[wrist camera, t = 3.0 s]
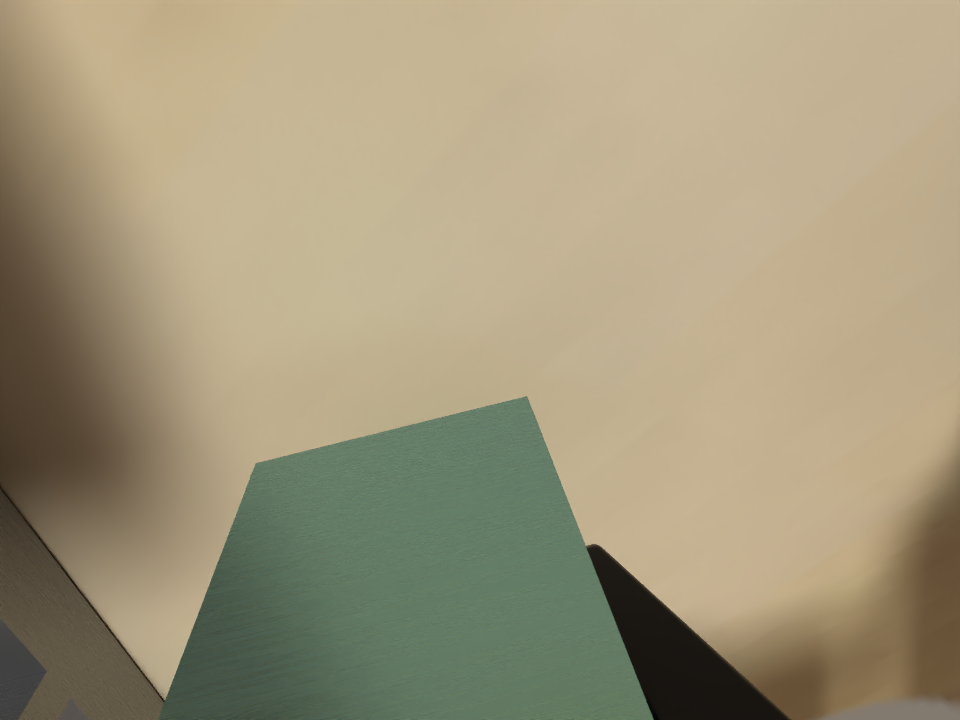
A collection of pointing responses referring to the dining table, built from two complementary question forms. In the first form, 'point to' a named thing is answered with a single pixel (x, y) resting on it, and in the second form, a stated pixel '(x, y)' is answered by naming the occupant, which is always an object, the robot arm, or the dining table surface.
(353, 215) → the dining table surface
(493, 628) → the block
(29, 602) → the rail
